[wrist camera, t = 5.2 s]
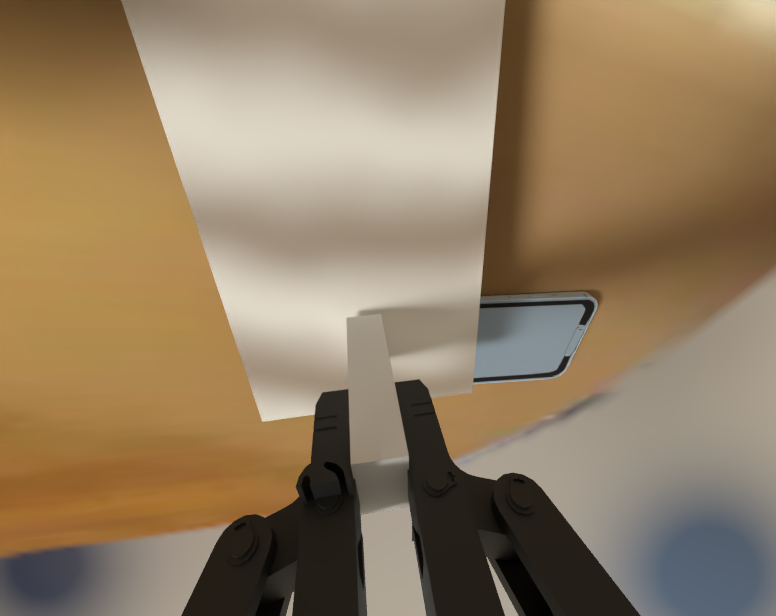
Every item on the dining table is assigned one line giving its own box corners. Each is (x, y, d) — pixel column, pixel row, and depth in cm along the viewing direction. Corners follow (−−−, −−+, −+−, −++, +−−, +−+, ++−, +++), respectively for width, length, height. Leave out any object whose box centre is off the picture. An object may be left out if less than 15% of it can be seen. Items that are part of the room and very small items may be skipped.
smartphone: (358, 304, 17) (603, 295, 19) (358, 295, 18) (593, 287, 20) (361, 392, 22) (562, 378, 23) (360, 382, 22) (555, 369, 24)
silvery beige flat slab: (104, -136, 8) (56, -194, 7) (493, -130, 9) (520, -181, 8) (269, 399, 17) (262, 421, 16) (462, 373, 18) (472, 392, 17)
